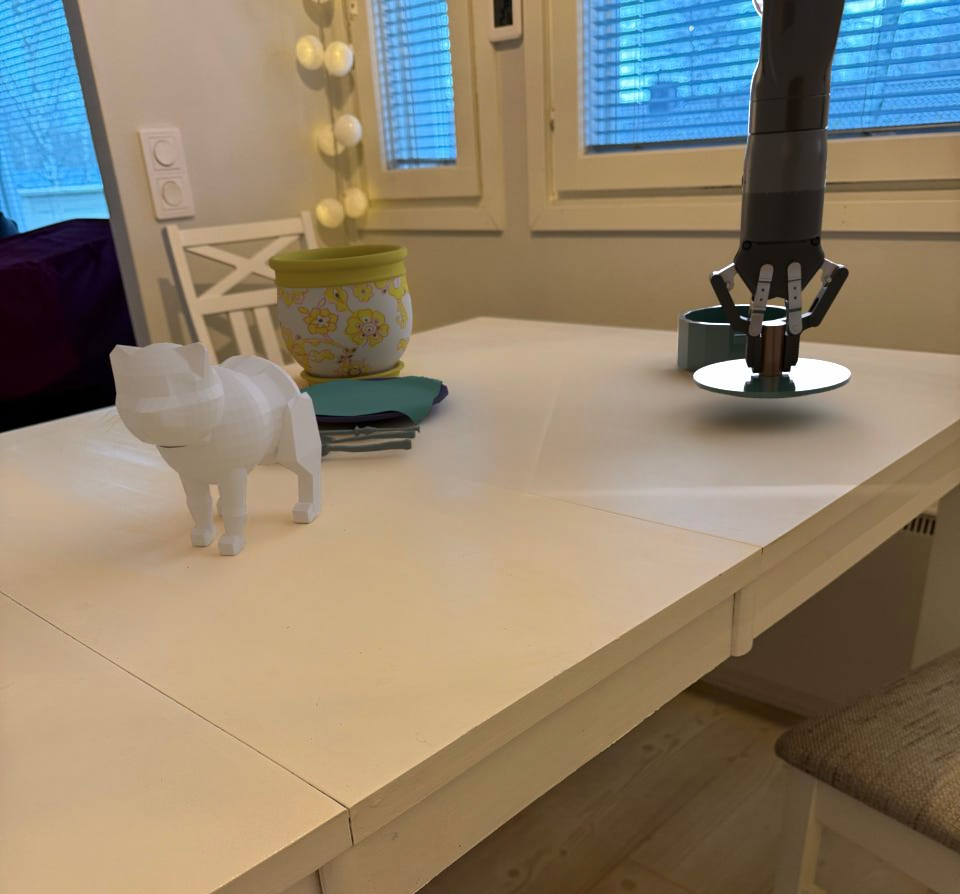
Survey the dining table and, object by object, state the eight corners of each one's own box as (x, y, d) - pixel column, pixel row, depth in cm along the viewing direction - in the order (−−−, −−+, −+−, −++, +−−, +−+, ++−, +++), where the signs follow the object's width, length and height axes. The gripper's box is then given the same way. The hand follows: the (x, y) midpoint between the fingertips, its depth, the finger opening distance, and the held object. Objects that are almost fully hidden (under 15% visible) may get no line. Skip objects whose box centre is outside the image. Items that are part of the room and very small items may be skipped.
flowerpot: (330, 402, 119) (310, 263, 112) (265, 383, 132) (244, 257, 125) (444, 375, 129) (434, 246, 121) (373, 360, 142) (360, 242, 134)
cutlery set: (457, 388, 122) (455, 370, 121) (430, 457, 95) (428, 435, 94) (306, 396, 123) (303, 378, 122) (238, 466, 97) (234, 444, 96)
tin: (782, 348, 130) (786, 299, 127) (804, 382, 112) (810, 325, 109) (674, 353, 132) (675, 304, 129) (679, 386, 115) (681, 331, 112)
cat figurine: (263, 478, 93) (231, 299, 85) (362, 481, 90) (338, 296, 82) (108, 583, 72) (47, 358, 64) (231, 592, 69) (182, 357, 61)
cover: (835, 364, 103) (840, 306, 101) (864, 400, 90) (872, 334, 87) (689, 370, 106) (691, 314, 103) (696, 406, 92) (698, 342, 90)
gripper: (710, 193, 87) (703, 382, 95) (869, 182, 85) (848, 377, 93) (705, 188, 94) (699, 366, 102) (853, 178, 91) (835, 360, 99)
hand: (770, 370), depth 97 cm, fingers closed on cover, 2 cm apart
